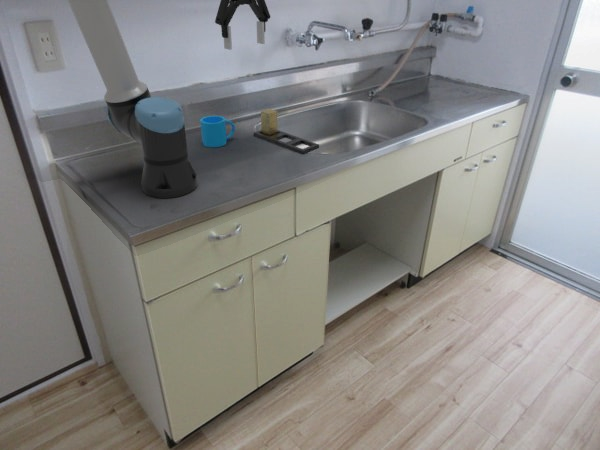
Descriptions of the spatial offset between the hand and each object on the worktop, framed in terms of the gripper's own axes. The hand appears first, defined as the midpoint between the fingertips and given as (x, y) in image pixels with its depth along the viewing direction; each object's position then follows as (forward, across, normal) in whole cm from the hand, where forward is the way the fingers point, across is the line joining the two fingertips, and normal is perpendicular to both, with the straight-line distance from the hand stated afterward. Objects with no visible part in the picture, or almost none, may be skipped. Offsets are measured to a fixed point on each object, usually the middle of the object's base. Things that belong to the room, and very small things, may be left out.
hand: (245, 46), depth 144 cm
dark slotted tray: (+31, +7, -11) cm, 33 cm away
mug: (+31, -9, +5) cm, 33 cm away
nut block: (+31, +7, -3) cm, 32 cm away
